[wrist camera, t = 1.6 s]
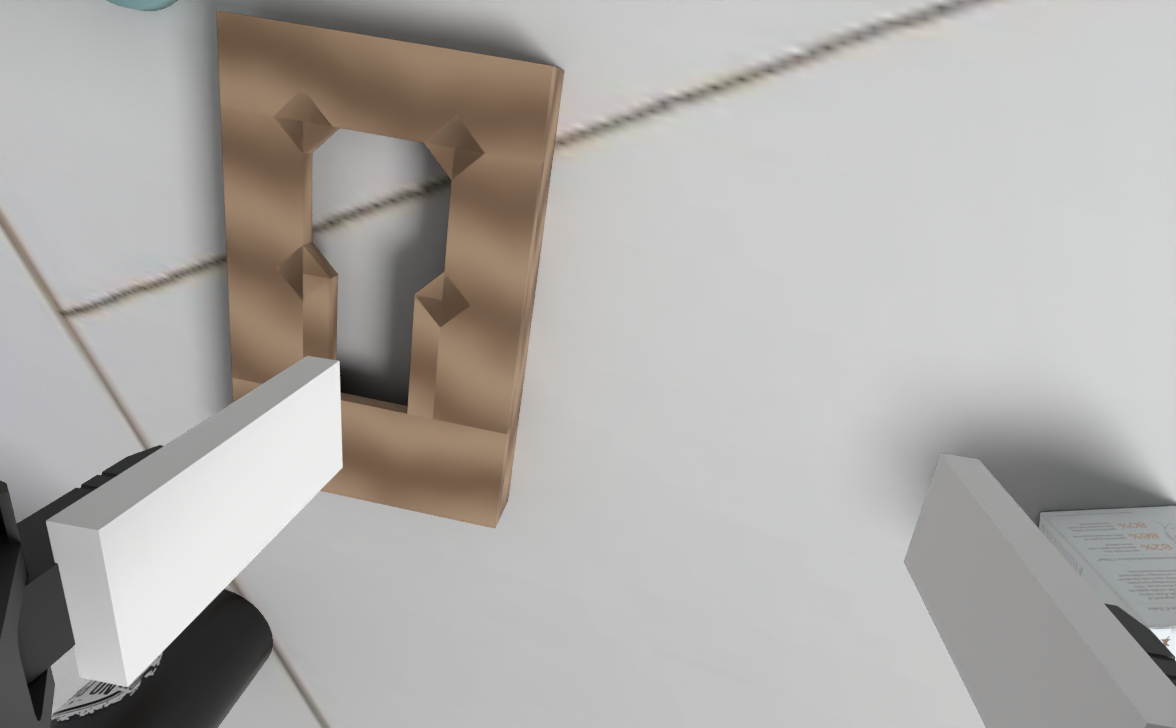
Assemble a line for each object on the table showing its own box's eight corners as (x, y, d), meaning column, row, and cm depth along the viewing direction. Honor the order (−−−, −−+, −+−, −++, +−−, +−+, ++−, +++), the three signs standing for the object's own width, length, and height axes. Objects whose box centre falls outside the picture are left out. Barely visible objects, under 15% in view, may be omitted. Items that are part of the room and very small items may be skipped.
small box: (1030, 582, 44) (1130, 717, 34) (1037, 508, 42) (1146, 628, 32) (1168, 579, 42) (1315, 718, 32) (1182, 502, 40) (1342, 625, 31)
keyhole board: (255, 19, 38) (216, 10, 35) (564, 70, 37) (552, 66, 33) (265, 449, 48) (236, 472, 45) (507, 500, 47) (495, 528, 44)
